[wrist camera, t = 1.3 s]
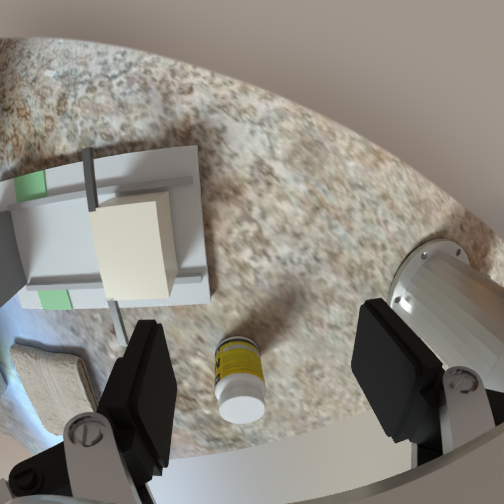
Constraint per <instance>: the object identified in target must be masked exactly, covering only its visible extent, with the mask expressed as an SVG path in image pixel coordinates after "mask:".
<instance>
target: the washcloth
mask: <svg viewBox="0 0 504 504" xmlns="http://www.w3.org/2000/svg"><path fill="white" fill-rule="evenodd" d="M10 352H11V354H10V355H11V358H12V360H13V363H14V366H15V367H16V371H17V372H18V374H19V377H20V379H21V381H22V384H23V386H24V389H25V391H26V394H27V395H28V397H29V399H30V401H31V403H32V405H33V407H34V409H35V410H36V412H37V414H38V416H39V418H40V420H41V422H42V424H43V425H44V428H45V429H46V430H47V431H48V432H50V433H53V434H55V435H62V436H63V431H64V428H65V425H66V424H67V422H68V421H69V420H70V419H71V418H73V417H74V416H76V415H78V414H81V413H84V412H95V413H96V410H97V408H98V405H99V404H98V402H97V399H96V396H95V393H94V391H93V388H92V386H91V382H90V379H89V376H88V372H87V369H86V366H85V363H84V361H83V359H82V358H81V357H78V356H75V355H71V354H64V353H51V352H47V351H42V350H41V349H39V348H33V347H28V346H25V345H19V344H14V345H12V346H11V348H10Z"/></svg>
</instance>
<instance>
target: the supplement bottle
mask: <svg viewBox="0 0 504 504" xmlns="http://www.w3.org/2000/svg"><path fill="white" fill-rule="evenodd" d="M265 394H266V385H265V380H264V375H263V369H262V364H261V359H260V353H259V349H258V347H257V345H256V344H255V343H254V342H253V341H252V340H251V339H249V338H246V337H242V336H235V337H230V338H227V339H225V340H223V341H222V342H221V343H220V344H219V345H218V346H217V348H216V351H215V395H216V397H217V399H218V404H219V412H220V415H221V416H222V417H223V418H224V419H225V420H227V421H229V422H232V423H237V424H245V423H250V422H253V421H255V420H257V419H259V418H260V417H261V416H262V415H263V414H264V412H265V401H264V397H265Z"/></svg>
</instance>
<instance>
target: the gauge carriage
mask: <svg viewBox="0 0 504 504" xmlns="http://www.w3.org/2000/svg"><path fill="white" fill-rule="evenodd" d="M82 159H83V170H84V180H85V188H86V196H87V204H88V211H89V217H90V223H91V229H92V235H93V240H94V246H95V251H96V256H97V260H98V265H99V269H100V274H101V278H102V282H103V286H104V290H105V294H106V298H107V302H108V306H109V309H110V313H111V317H112V320H113V323H114V327H115V330H116V333H117V337H118V340H119V343H120V346H127V345H128V342H129V341H128V337H127V334H126V331H125V327H124V324H123V320H122V316H121V313H120V309H119V305H118V300H142V299H162V298H170V295H171V292H172V289H173V286H174V283H175V279H176V276H177V273H178V266H177V259H176V252H175V244H174V236H173V227H172V219H171V209H170V200H169V191H162V192H153V193H144V194H135V195H127V196H120V197H112V198H110V199H108V200H106V201H104V202H102V203H100V204H98V196H97V188H96V179H95V169H94V158H93V147H92V148H85V149H82Z"/></svg>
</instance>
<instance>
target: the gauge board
mask: <svg viewBox="0 0 504 504" xmlns="http://www.w3.org/2000/svg"><path fill="white" fill-rule="evenodd" d="M94 169H95V179H96V188H97V196H98V204H100V203H102V202H104V201H106V200H108V199H110V198H112V197H120V196H127V195H135V194H144V193H153V192H162V191H169V200H170V209H171V219H172V227H173V236H174V244H175V252H176V259H177V266H178V273H177V276H176V279H175V283H174V286H173V289H172V292H171V295H170V298H162V299H142V300H118V305H119V308H126V307H152V306H173V305H190V304H206V303H211V292H210V284H209V274H208V265H207V255H206V245H205V234H204V223H203V212H202V200H201V187H200V173H199V157H198V145H191V146H180V147H171V148H163V149H155V150H147V151H140V152H133V153H127V154H120V155H114V156H108V157H103V158H97V159H94ZM16 293H17V294H18V297H19V300H20V303H21V306H22V308H27V309H43V310H72V309H85V308H109V306H108V302H107V298H106V294H105V290H104V286H103V282H102V278H101V274H100V269H99V265H98V260H97V256H96V251H95V246H94V240H93V235H92V229H91V223H90V217H89V211H88V204H87V196H86V188H85V180H84V170H83V161H82V162H77V163H72V164H68V165H63V166H59V167H54V168H50V169H46V170H42V171H38V172H34V173H30V174H26V175H23V176H19V177H15V178H12V179H9V180H5V181H2V182H0V308H1V307H2V306H3V305H4V304H5V303H6V302H7V301H8V300H9V299H10V298H12V297H13V296H14V295H15V294H16Z"/></svg>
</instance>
